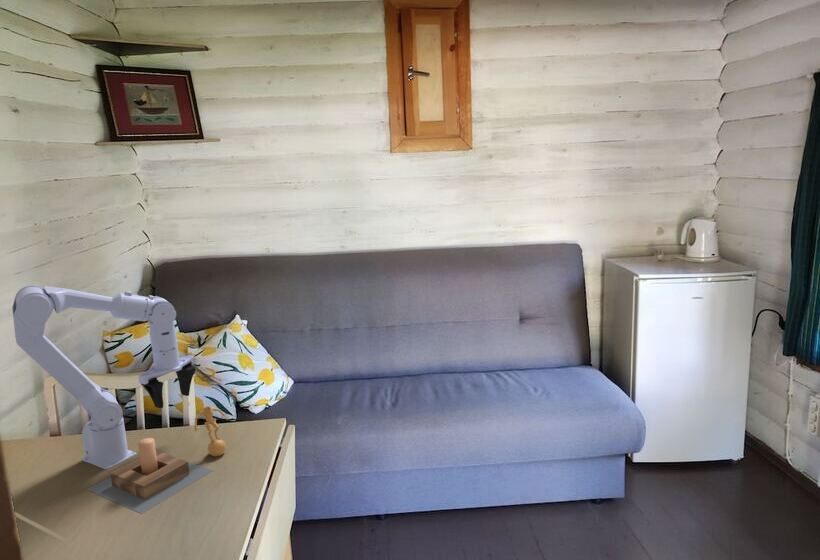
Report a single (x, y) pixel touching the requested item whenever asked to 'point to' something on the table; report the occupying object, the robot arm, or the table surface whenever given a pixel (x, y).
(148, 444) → the dowel
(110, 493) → the mat
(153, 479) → the square frame
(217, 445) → the figurine
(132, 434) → the table surface
